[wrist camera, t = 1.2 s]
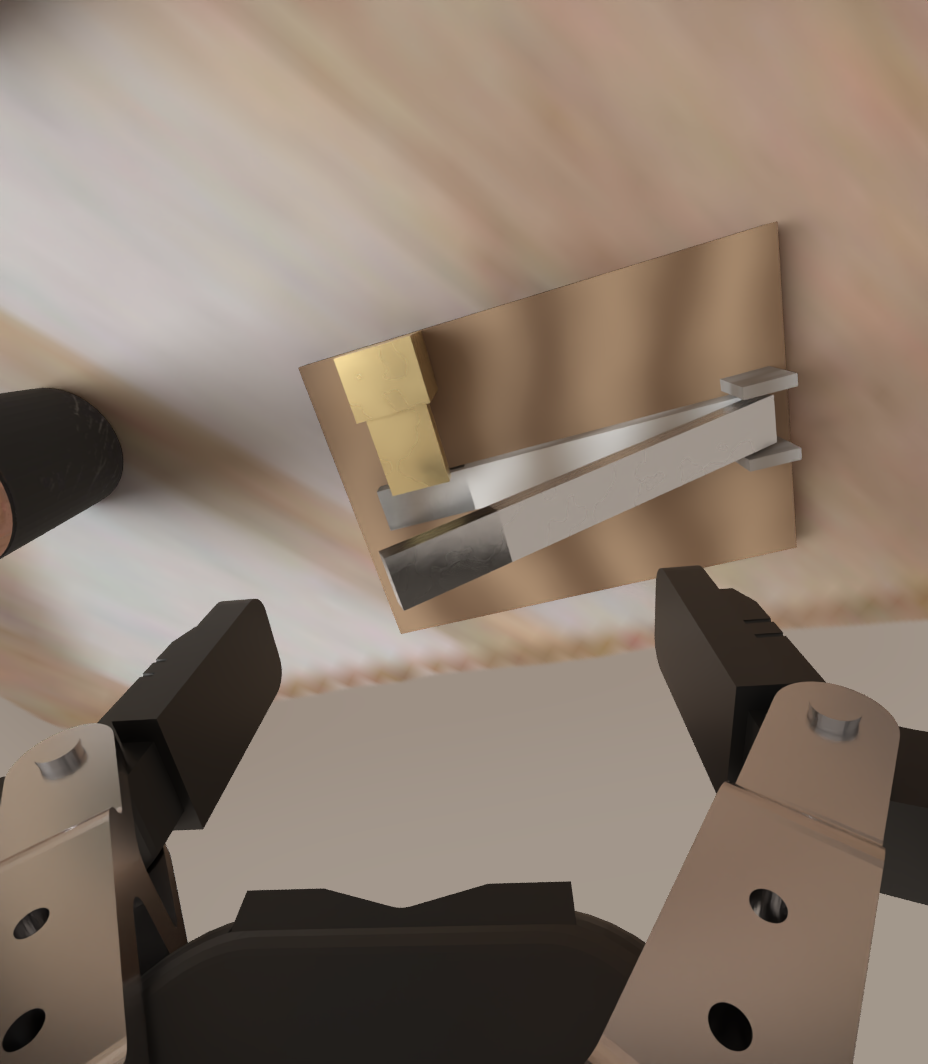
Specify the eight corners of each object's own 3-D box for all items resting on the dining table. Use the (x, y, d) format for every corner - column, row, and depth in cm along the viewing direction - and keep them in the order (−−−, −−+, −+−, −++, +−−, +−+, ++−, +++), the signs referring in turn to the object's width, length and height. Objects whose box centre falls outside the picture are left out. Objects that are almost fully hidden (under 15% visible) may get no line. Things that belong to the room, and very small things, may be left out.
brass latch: (420, 330, 28) (410, 335, 24) (459, 460, 30) (455, 483, 26) (354, 350, 28) (333, 359, 24) (397, 477, 31) (384, 501, 27)
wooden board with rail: (762, 225, 26) (810, 212, 23) (783, 536, 33) (823, 569, 29) (307, 364, 30) (279, 374, 26) (404, 621, 36) (393, 660, 32)
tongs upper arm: (756, 393, 27) (773, 394, 26) (759, 440, 28) (777, 442, 27) (378, 551, 22) (384, 558, 21) (397, 601, 23) (404, 611, 22)
